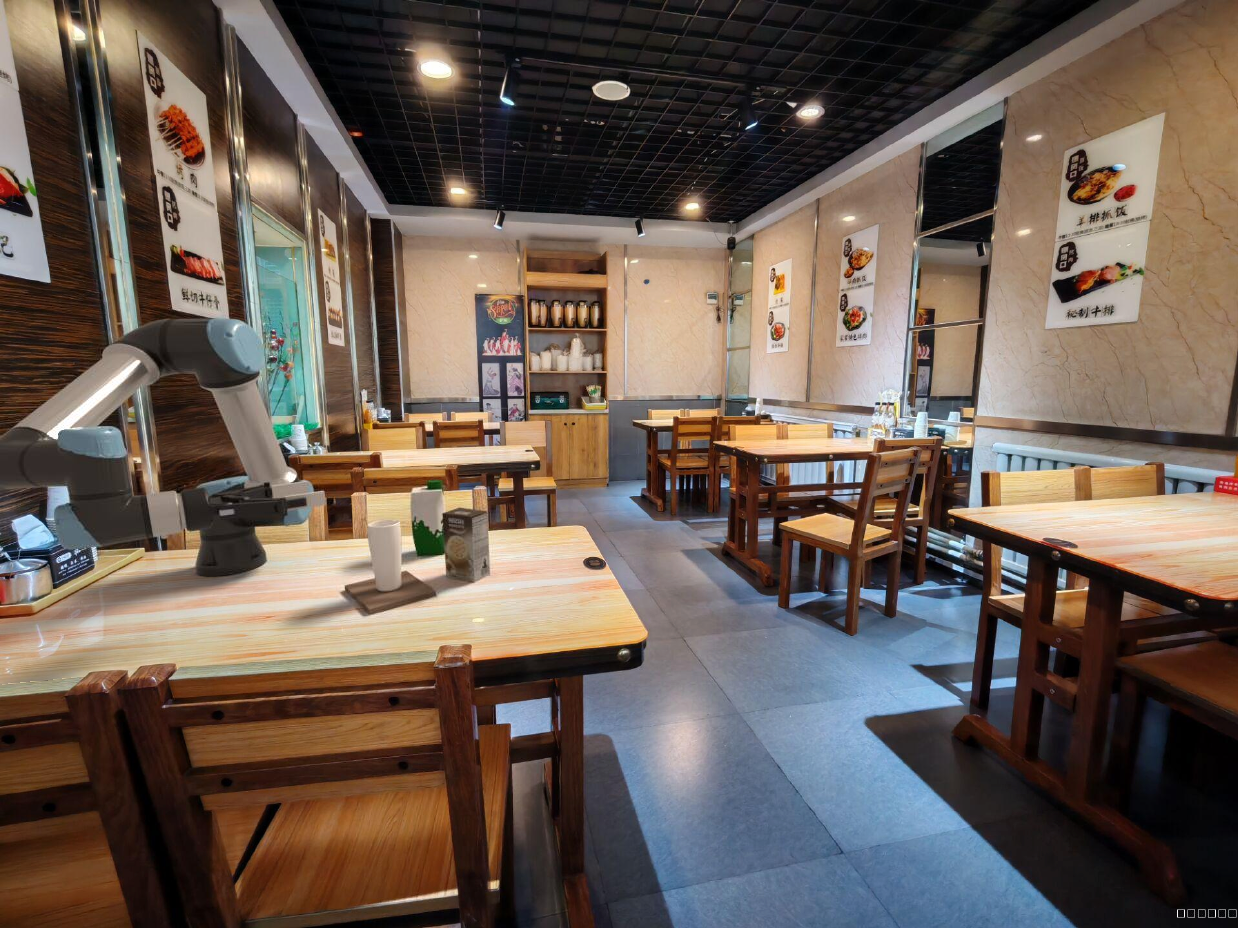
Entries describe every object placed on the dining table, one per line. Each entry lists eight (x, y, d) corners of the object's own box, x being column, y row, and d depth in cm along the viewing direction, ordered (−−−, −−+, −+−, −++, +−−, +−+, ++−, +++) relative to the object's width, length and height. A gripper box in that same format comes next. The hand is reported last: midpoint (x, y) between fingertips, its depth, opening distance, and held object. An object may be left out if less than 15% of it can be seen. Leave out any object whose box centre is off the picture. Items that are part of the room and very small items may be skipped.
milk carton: (448, 554, 148) (443, 483, 145) (413, 558, 145) (407, 485, 142) (448, 545, 156) (443, 477, 153) (415, 549, 154) (409, 479, 151)
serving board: (345, 590, 124) (344, 585, 123) (406, 575, 133) (406, 570, 132) (369, 614, 110) (369, 609, 110) (436, 595, 119) (436, 590, 119)
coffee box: (444, 577, 131) (440, 512, 128) (462, 569, 136) (458, 507, 134) (474, 582, 127) (470, 516, 124) (492, 573, 133) (488, 510, 130)
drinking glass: (393, 594, 117) (388, 527, 115) (366, 592, 119) (359, 526, 116) (411, 583, 124) (406, 519, 122) (385, 581, 125) (379, 518, 123)
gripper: (181, 518, 105) (303, 500, 119) (190, 548, 87) (334, 522, 100) (175, 480, 104) (300, 466, 118) (183, 502, 85) (330, 483, 99)
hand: (316, 492), depth 109 cm, fingers open, 13 cm apart
